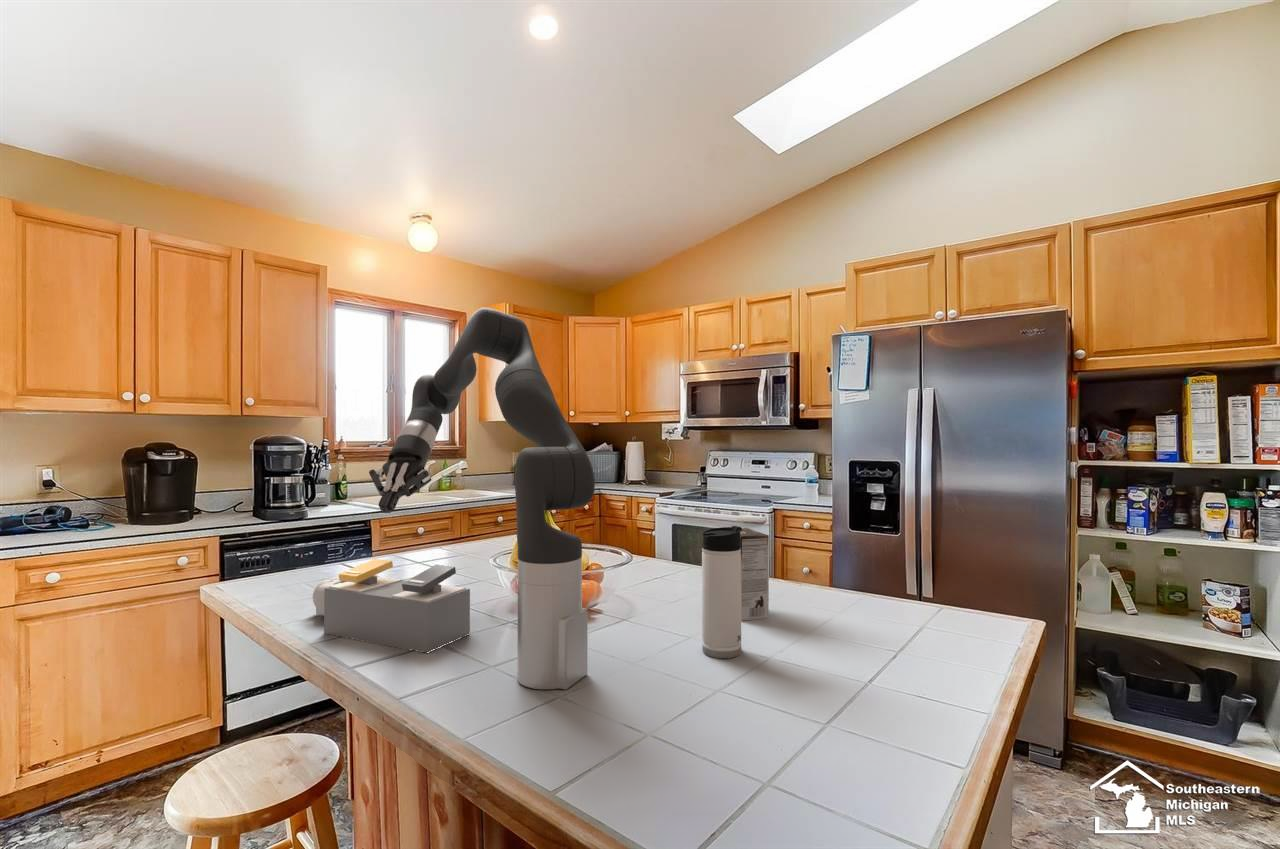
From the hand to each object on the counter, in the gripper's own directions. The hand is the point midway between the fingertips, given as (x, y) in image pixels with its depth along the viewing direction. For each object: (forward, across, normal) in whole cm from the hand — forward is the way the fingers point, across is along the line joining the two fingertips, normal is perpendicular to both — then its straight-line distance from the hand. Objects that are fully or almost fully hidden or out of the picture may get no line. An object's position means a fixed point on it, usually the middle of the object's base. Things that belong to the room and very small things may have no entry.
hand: (384, 510), depth 114 cm
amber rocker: (+12, 0, +2) cm, 12 cm away
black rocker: (+15, +14, -2) cm, 21 cm away
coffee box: (+9, +70, +19) cm, 73 cm away
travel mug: (+24, +64, +4) cm, 69 cm away
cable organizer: (+13, -8, +17) cm, 23 cm away
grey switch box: (+21, +7, +8) cm, 24 cm away
